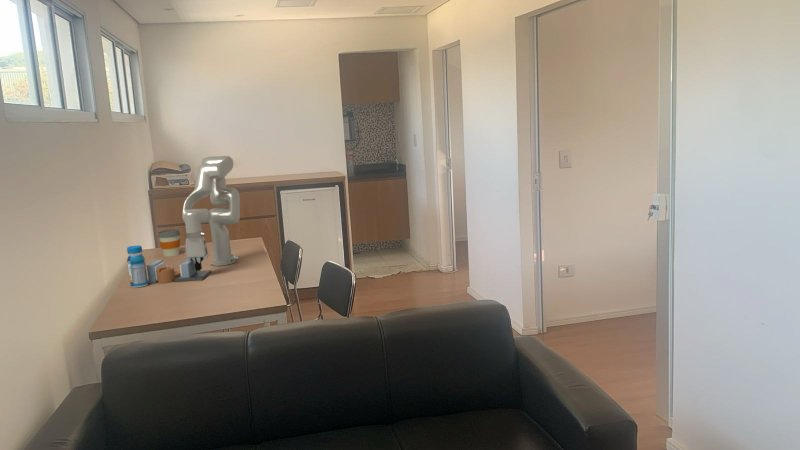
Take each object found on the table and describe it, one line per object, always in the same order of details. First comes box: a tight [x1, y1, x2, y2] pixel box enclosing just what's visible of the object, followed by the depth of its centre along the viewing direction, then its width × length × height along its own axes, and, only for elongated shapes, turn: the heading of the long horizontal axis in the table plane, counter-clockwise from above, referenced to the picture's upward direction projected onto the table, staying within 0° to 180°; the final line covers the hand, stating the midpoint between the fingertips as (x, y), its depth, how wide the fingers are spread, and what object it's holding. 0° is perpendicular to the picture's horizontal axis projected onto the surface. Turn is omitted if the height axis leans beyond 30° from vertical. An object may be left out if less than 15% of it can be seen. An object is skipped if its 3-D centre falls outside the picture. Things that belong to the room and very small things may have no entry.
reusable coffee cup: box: [157, 229, 181, 258], centre depth 384 cm, size 13×13×15 cm
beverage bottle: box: [126, 244, 149, 289], centre depth 308 cm, size 8×8×20 cm
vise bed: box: [174, 269, 212, 283], centre depth 321 cm, size 14×16×2 cm
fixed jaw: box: [146, 259, 166, 284], centre depth 320 cm, size 4×13×9 cm, turn 0°
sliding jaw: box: [179, 260, 197, 278], centre depth 320 cm, size 4×13×7 cm, turn 0°
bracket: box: [156, 266, 181, 285], centre depth 320 cm, size 18×8×7 cm, turn 174°
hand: (198, 270), depth 320 cm, fingers closed
